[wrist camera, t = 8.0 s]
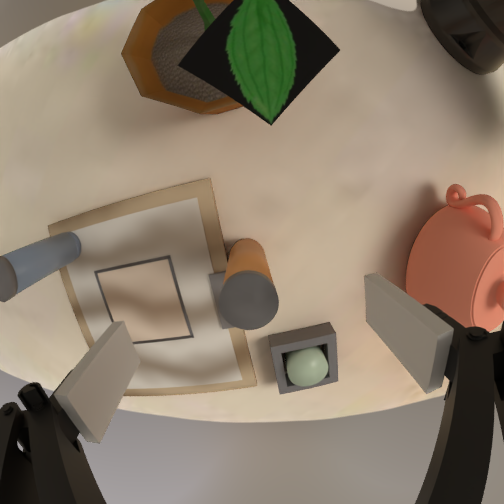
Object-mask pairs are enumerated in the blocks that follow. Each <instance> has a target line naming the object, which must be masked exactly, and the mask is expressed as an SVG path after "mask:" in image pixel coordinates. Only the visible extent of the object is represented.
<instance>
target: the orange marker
mask: <svg viewBox="0 0 504 504" xmlns="http://www.w3.org/2000/svg"><path fill="white" fill-rule="evenodd" d="M278 306H279V300H278V295H277V292H276V288H275V286H274V284H273V280H272V277H271V273H270V270H269V266H268V263H267V259H266V256H265V252H264V250H263V248H262V246H261V245H260V244H259V243H258V242H257V241H255V240H253V239H249V238H246V239H241V240H239V241H238V242H236V243H235V244H234V246H233V247H232V249H231V251H230V254H229V259H228V263H227V268H226V273H225V277H224V282H223V286H222V288H221V292H220V297H219V309H220V312H221V314H222V316H223V317H224V319H225V320H226V321H227V322H228V323H229V324H231V325H232V326H234V327H236V328H239V329H243V330H254V329H258V328H261V327H263V326H265V325H266V324H268V323H269V322H270V321H271V320H272V319H273V318H274V316H275V315H276V313H277V310H278Z"/></svg>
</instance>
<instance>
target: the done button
mask: <svg viewBox="0 0 504 504" xmlns="http://www.w3.org/2000/svg"><path fill="white" fill-rule="evenodd" d="M285 363H286V368H287V372H288V376H289V379H290V381H291V382H292V383H294V384H295V385H298V386H311V385H314V384H316V383H318V382H320V381H321V380H322V379H323V378H324V377H325V376H326V374H327V372H328V363H327V361H326V358H325V356H324V354H323V352H322V349H321V347H320V346H319V345H317V346H313V347H308V348H304V349H299V350H294V351H289V352H286V354H285Z"/></svg>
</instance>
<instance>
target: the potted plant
mask: <svg viewBox="0 0 504 504" xmlns="http://www.w3.org/2000/svg"><path fill="white" fill-rule="evenodd" d="M339 51H340V49H339V48H338V47H337V46H336V45H335V44H334V43H333V42H332V41H331V40H330V39H329V37H328V36H327V35H326V34H325V33H324V32H323V31H322V30H321V29H320V28H319V27H318V26H317V25H315V24H314V23H313V22H312V21H311V20H310V19H309V18H308V17H307V16H306V15H305V14H304V13H303V12H302V11H300V10H299V9H298V8H297V7H296V6H295V5H294V4H292V3H291V2H290V1H289V0H154V1H153V2H151V3H150V4H148V5H147V6H145V7H144V8H142V9H141V11H140V13H139V15H138V17H137V19H136V21H135V23H134V25H133V27H132V30H131V32H130V34H129V36H128V39H127V41H126V43H125V46H124V48H123V50H122V53H121V54H122V57H123V59H124V61H125V63H126V65H127V67H128V69H129V71H130V74H131V76H132V78H133V80H134V82H135V84H136V86H137V88H138V90H139V92H140V94H141V96H142V97H146V98H150V99H153V100H157V101H161V102H164V103H167V104H171V105H174V106H177V107H181V108H184V109H187V110H190V111H193V112H196V113H199V114H219V113H222V112H226V111H229V110H232V109H236V108H239V107H243V106H244V107H245V108H247V109H248V110H250V111H251V112H253V113H254V114H256V115H257V116H258V117H260V118H261V119H263V120H264V121H266V122H267V123H268V124H270V125H272V124H273V123H274V122H275V121H276V119H277V118H278V117H279V116H280V115H281V114H282V112H283V111H284V110H285V109H286V108H287V107H288V106H289V105H290V103H291V102H292V101H293V100H294V99H295V98H296V97H297V96H298V94H299V93H300V92H301V91H302V90H303V89H304V88H305V87H306V86H307V85H308V84H309V82H310V81H311V80H312V79H313V78H314V77H315V76H316V75H317V74H318V73H319V72H320V71H321V70H322V69H323V68H324V67H325V65H326V64H327V63H328V62H329V61H330V60H331V59H332V58H333V57H334V56H335V55H336V54H337V53H338V52H339Z"/></svg>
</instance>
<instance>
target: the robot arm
mask: <svg viewBox="0 0 504 504" xmlns="http://www.w3.org/2000/svg"><path fill="white" fill-rule="evenodd" d="M421 7H422V11H423V14H424V17H425V19H426V21H427V23H428V25H429V26H430V28H431V30H432V31H433V33H434V34H435V36H436V37H437V39H438V40H439V41H440V43H441V44H442V45H443V46H444V47H445V49H446V50H447V51H448V52H449V53H450V54H451V55H452V56H453V57H454V58H455V59H456V60H457V61H458V62H459V63H461V64H462V65H463V66H464V67H466V68H467V69H469V70H470V71H472V72H474V73H477V74H481V75H484V74H488V73H491V72H494V71H496V70H497V69H498V68H499V67H500V66H501V65H502V64H503V63H504V0H421ZM364 280H365V300H366V322H367V323H368V324H369V325H370V326H371V327H372V329H373V330H374V331H375V332H376V333H377V334H378V336H379V337H380V338H381V339H382V340H383V342H384V343H385V344H386V345H387V346H388V348H389V349H390V350H391V351H392V352H393V353H394V355H395V356H396V357H397V358H398V360H399V361H400V362H401V363H402V364H403V366H404V367H405V368H406V369H407V370H408V372H409V373H410V374H411V375H412V377H413V378H414V379H415V380H416V382H417V383H418V384H419V385H420V387H421V388H422V389H423V390H424V392H425V393H426V394H428V393H430V392H432V391H434V390H436V389H438V388H440V387H442V383H443V379H444V375H445V376H446V377H447V378H448V379H449V380H450V381H449V385H448V388H447V392H446V395H445V398H444V400H446V401H445V406H444V412H443V416H442V421H441V425H440V430H439V434H438V438H437V441H436V445H435V449H434V452H433V455H432V459H431V462H430V465H429V468H428V471H427V474H426V477H425V480H424V482H423V485H422V488H421V490H420V493H419V495H418V498H417V500H416V503H415V504H481V502H482V498H483V494H484V489H485V485H486V480H487V475H488V469H489V463H490V456H491V448H492V438H493V427H494V401H495V404H496V408H497V412H498V416H499V421H500V425H501V429H502V435H503V440H504V321H503V324H502V328H501V331H497V332H493V333H489V332H488V331H487V330H486V329H484V328H482V327H477V326H472V327H467V328H465V327H464V326H463V325H461V324H460V323H458V322H457V321H456V320H454V319H453V318H452V317H450V316H448V315H447V314H446V313H445V312H443V311H442V310H440V309H439V308H438V307H436V306H433V305H430V304H427V303H426V304H423V305H422V304H420V303H419V302H418V301H416V300H415V299H414V298H412V297H411V296H409V295H408V294H407V293H405V292H404V291H403V290H401V289H400V288H398V287H397V286H395V285H394V284H393V283H391V282H390V281H388V280H387V279H386V278H384V277H383V276H381V275H380V274H378V273H373V274H369V275H365V276H364ZM140 362H141V361H140V359H139V357H138V354H137V352H136V350H135V347H134V345H133V342H132V340H131V338H130V335H129V333H128V330H127V328H126V325H125V322H124V321H117V322H112V324H111V325H110V326H109V327H108V328H107V329H106V330H105V332H104V333H103V334H102V335H101V336H100V338H99V339H98V340H97V341H96V342H95V343H94V345H93V346H92V347H91V348H90V349H89V351H88V352H87V353H86V354H85V356H84V357H83V358H82V359H81V360H80V362H79V363H78V364H77V365H76V367H75V368H74V369H73V370H71V371H70V372H69V373H68V375H67V376H66V377H65V379H64V380H63V381H62V382H61V384H60V385H59V386H58V387H57V389H56V390H55V391H54V392H53V394H52V395H51V396H50V398H48V396H47V395H46V393H45V391H44V390H43V388H42V386H41V385H40V384H39V383H37V382H33V383H30V384H27V385H26V386H24V387H23V388H22V389H21V390H20V391H19V393H18V397H19V398H20V400H21V401H22V403H23V405H24V406H25V407H26V409H27V410H24V411H21V409H20V408H19V406H18V405H17V403H15V402H10V403H6V404H5V405H3V407H2V408H1V409H0V504H106V502H105V500H104V498H103V496H102V494H101V492H100V489H99V487H98V485H97V483H96V480H95V478H94V476H93V473H92V471H91V469H90V466H89V464H88V461H87V459H86V456H85V453H84V450H83V448H82V445H81V443H80V441H79V440H78V439H77V436H78V434H79V433H81V435H82V436H83V437H84V439H85V440H86V441H87V442H93V443H100V442H101V440H102V438H103V436H104V434H105V432H106V429H107V427H108V425H109V423H110V421H111V419H112V417H113V415H114V413H115V411H116V409H117V407H118V405H119V403H120V401H121V399H122V397H123V395H124V393H125V391H126V389H127V387H128V385H129V383H130V381H131V379H132V377H133V375H134V373H135V371H136V369H137V368H138V366H139V364H140ZM17 441H18V442H19V443H20V445H21V446H22V447H23V452H22V451H21V450H20V449H19V448H18V445H17Z"/></svg>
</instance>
